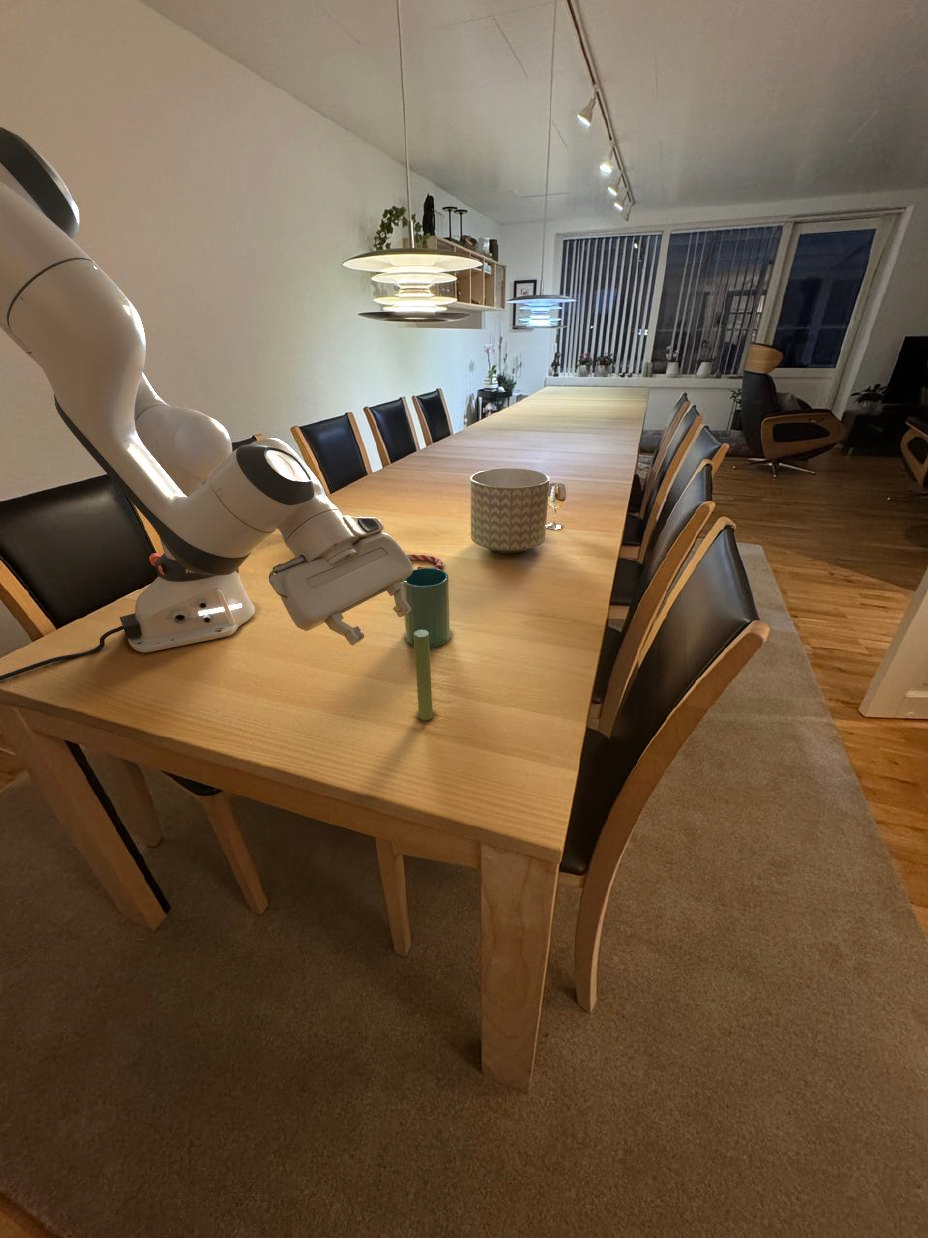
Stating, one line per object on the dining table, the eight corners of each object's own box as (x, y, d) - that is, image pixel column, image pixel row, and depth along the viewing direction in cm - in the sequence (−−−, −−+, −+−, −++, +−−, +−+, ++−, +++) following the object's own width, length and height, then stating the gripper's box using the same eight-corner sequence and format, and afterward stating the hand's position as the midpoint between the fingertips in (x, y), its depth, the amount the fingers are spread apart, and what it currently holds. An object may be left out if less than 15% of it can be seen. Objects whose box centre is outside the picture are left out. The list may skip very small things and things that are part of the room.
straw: (423, 722, 74) (418, 638, 67) (416, 715, 75) (410, 632, 68) (435, 717, 75) (431, 634, 68) (428, 709, 76) (423, 628, 69)
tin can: (420, 653, 90) (416, 591, 84) (398, 634, 95) (393, 574, 90) (458, 639, 94) (457, 579, 88) (434, 621, 99) (432, 564, 94)
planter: (481, 532, 143) (481, 466, 135) (549, 538, 139) (554, 470, 130) (461, 557, 128) (460, 484, 119) (537, 565, 123) (542, 490, 114)
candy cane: (394, 549, 129) (448, 557, 124) (395, 554, 130) (448, 562, 125) (378, 560, 123) (434, 570, 118) (378, 565, 124) (434, 575, 118)
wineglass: (557, 522, 150) (561, 481, 144) (567, 528, 146) (571, 486, 140) (539, 524, 149) (542, 483, 143) (548, 531, 144) (552, 488, 138)
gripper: (269, 557, 62) (335, 651, 62) (386, 515, 76) (440, 590, 76) (254, 582, 66) (316, 670, 66) (368, 537, 81) (418, 609, 81)
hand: (383, 627), depth 71 cm, fingers open, 8 cm apart
